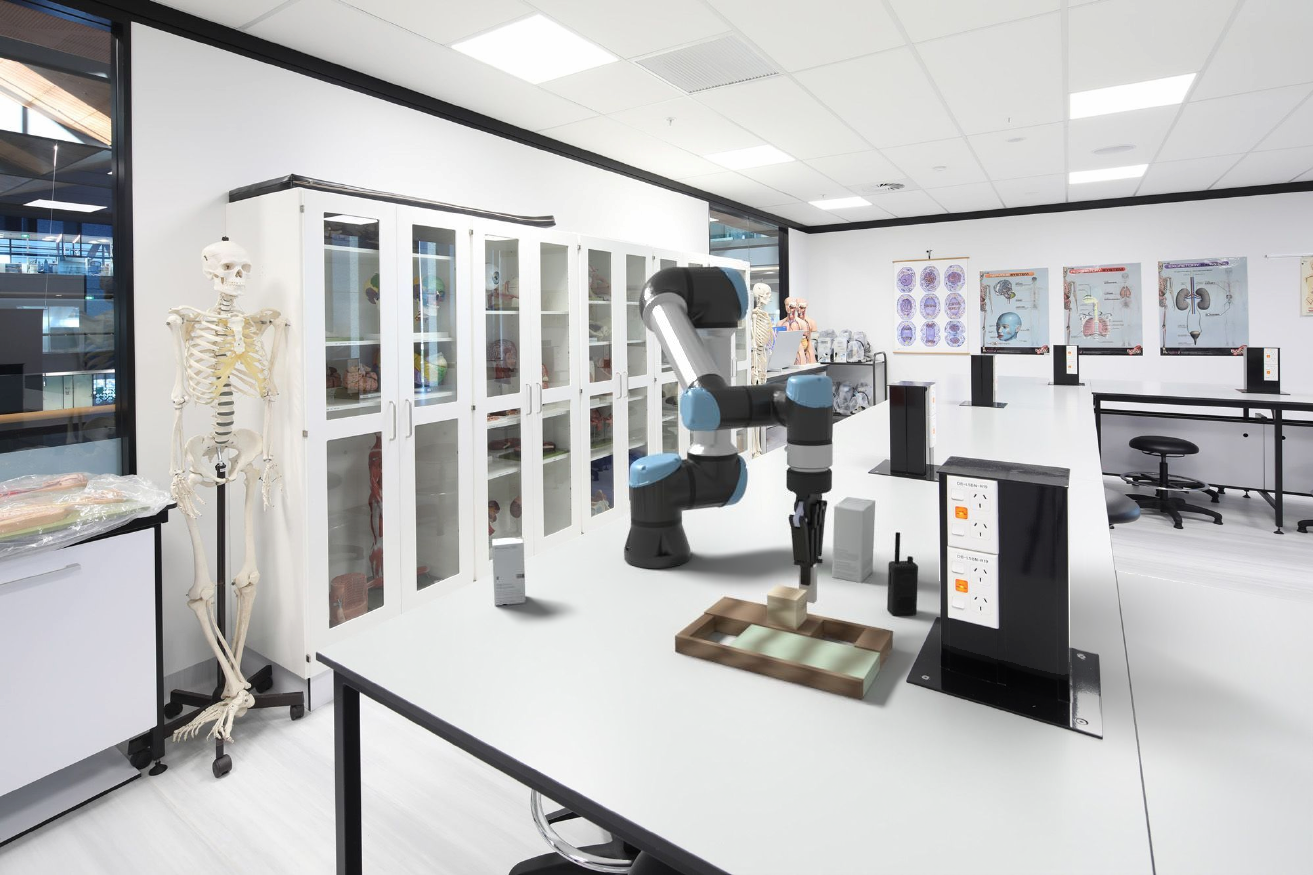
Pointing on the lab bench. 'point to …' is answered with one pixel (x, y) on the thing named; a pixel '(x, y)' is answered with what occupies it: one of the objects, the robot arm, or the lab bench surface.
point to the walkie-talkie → (902, 584)
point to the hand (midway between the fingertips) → (807, 600)
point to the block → (787, 607)
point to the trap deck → (790, 647)
